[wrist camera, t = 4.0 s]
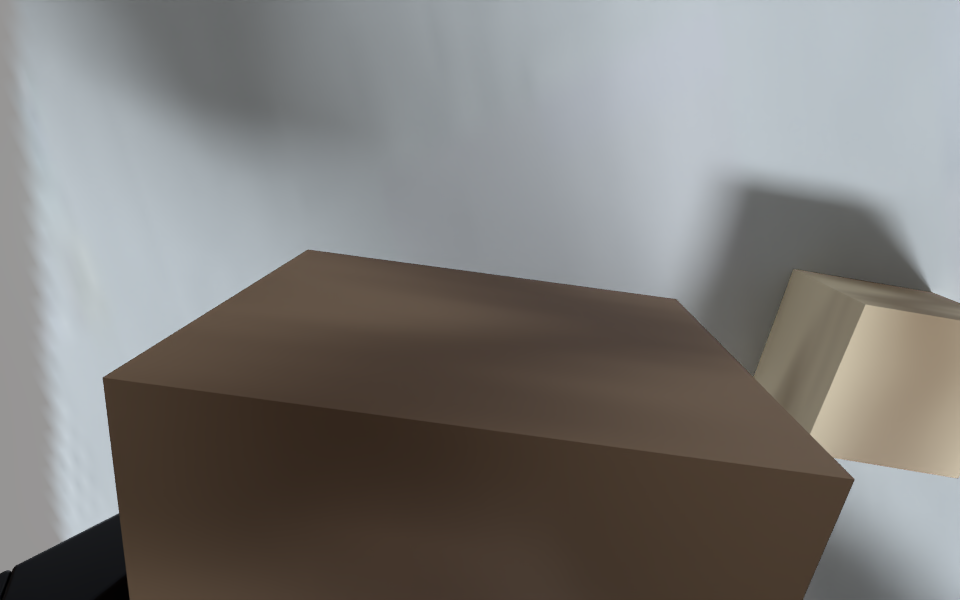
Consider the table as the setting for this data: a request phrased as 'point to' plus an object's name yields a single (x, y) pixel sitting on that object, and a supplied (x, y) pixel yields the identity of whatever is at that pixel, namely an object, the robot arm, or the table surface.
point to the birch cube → (869, 371)
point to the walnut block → (458, 447)
